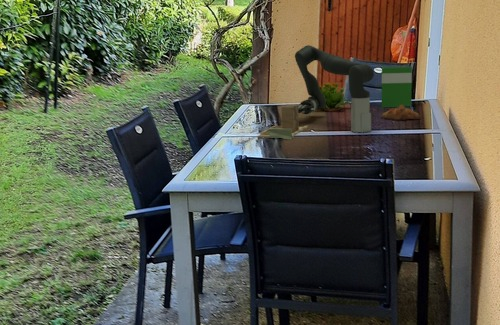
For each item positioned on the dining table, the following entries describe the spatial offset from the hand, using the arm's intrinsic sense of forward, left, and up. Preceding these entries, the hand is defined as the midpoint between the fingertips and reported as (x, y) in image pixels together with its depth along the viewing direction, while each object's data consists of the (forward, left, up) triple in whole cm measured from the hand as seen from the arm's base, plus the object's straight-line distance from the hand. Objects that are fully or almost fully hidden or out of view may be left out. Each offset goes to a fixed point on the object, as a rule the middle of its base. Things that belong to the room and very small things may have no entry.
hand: (297, 111), depth 321 cm
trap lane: (-6, +14, -9) cm, 18 cm away
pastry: (-20, -55, -10) cm, 59 cm away
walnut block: (-8, +11, -8) cm, 16 cm away
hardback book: (+12, -85, -9) cm, 86 cm away
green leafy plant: (+32, -51, -9) cm, 61 cm away
